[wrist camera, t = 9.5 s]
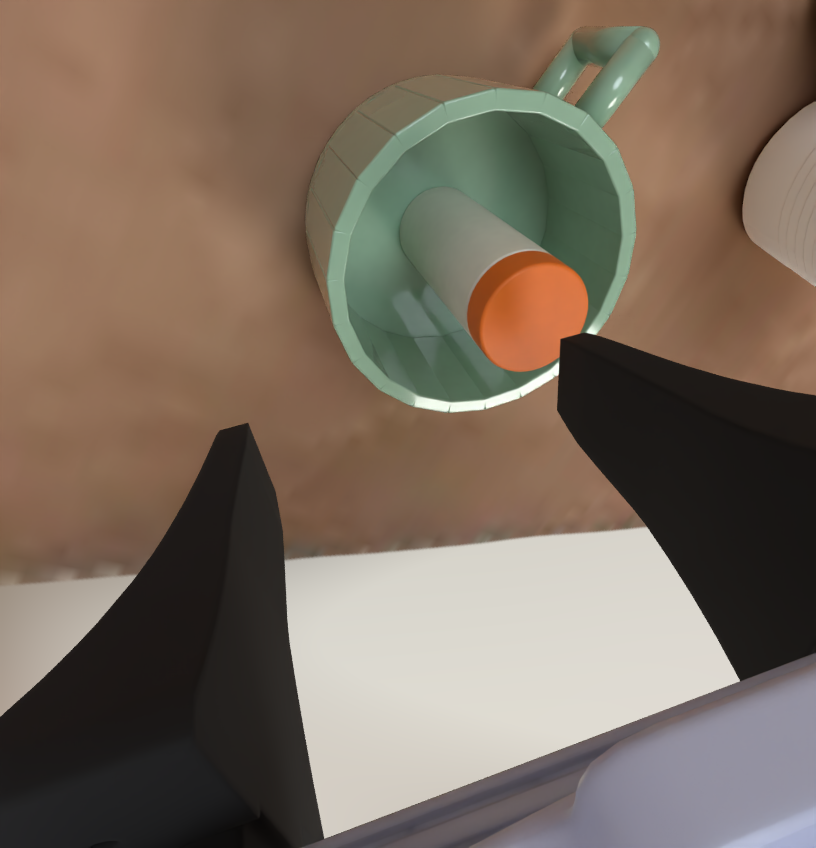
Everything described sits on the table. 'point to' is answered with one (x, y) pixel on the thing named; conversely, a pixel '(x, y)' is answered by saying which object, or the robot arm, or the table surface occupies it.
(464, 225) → the glue stick
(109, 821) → the robot arm
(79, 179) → the table surface
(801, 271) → the cup
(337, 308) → the mug
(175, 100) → the table surface
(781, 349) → the table surface
